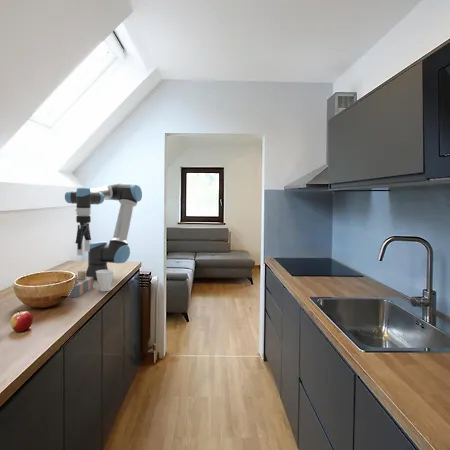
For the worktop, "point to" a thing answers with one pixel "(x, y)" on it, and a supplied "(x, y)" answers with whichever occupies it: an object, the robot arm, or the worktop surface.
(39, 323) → the worktop surface
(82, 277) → the peg
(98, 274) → the cup
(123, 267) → the worktop surface
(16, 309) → the worktop surface
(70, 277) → the peg
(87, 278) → the block
